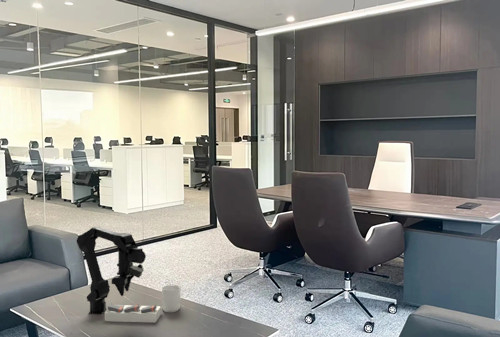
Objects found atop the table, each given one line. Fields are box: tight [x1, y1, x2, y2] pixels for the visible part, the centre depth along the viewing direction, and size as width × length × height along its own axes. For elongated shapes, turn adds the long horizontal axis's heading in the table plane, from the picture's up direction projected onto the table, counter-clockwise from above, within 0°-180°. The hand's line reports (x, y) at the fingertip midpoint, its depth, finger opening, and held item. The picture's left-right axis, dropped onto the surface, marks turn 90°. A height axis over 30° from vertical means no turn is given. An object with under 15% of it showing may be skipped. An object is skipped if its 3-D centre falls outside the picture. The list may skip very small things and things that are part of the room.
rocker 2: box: [124, 304, 140, 313], centre depth 202 cm, size 6×3×2 cm, turn 88°
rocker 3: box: [141, 304, 157, 313], centre depth 202 cm, size 6×3×2 cm, turn 88°
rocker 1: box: [107, 303, 124, 312], centre depth 203 cm, size 6×3×2 cm, turn 87°
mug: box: [161, 284, 182, 313], centre depth 217 cm, size 12×9×11 cm
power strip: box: [104, 304, 162, 323], centre depth 204 cm, size 24×10×4 cm, turn 87°
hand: (124, 293), depth 203 cm, fingers open, 7 cm apart
